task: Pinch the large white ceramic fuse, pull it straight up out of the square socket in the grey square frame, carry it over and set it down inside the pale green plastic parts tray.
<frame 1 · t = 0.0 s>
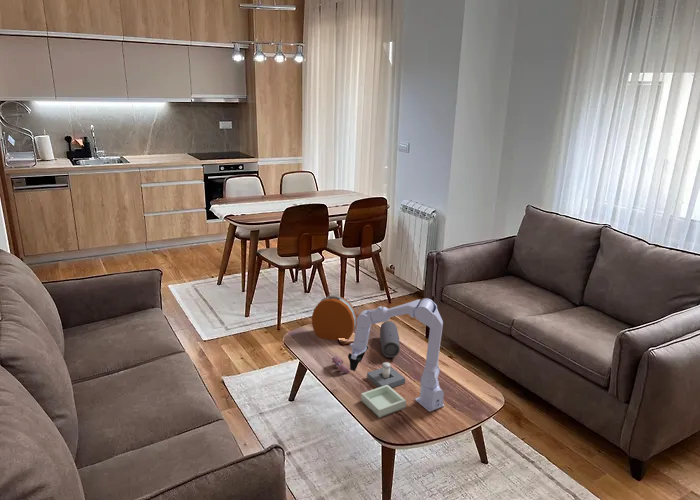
hand: (355, 365, 212), 11 cm above the table, tool pointing down, fingers open, 7 cm apart
fuse: (386, 372, 219), in the grey square frame
video game controller: (340, 369, 229), on the table
bluetooth speaker: (389, 348, 248), on the table
grey square frame: (385, 380, 220), on the table
alarm clock: (334, 335, 260), on the table
parts tray: (383, 404, 204), on the table
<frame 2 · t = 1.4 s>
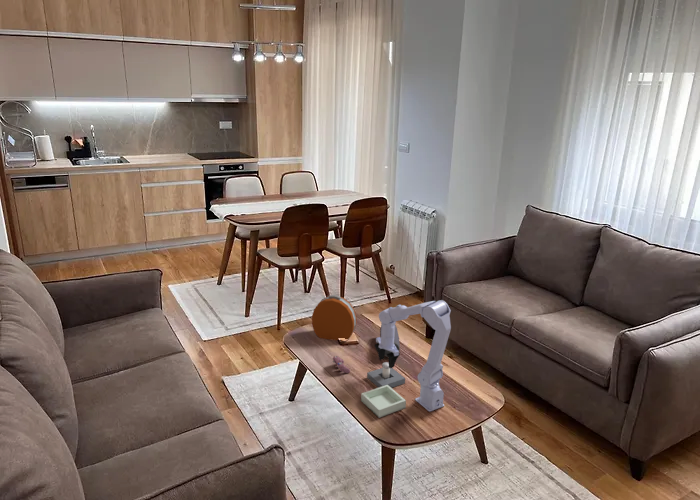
hand: (386, 363, 218), 9 cm above the table, tool pointing down, fingers open, 7 cm apart
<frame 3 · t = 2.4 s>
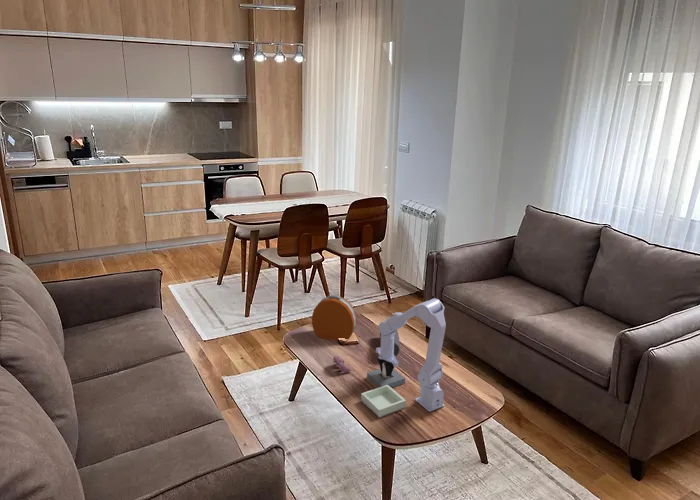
hand: (386, 373, 219), 3 cm above the table, tool pointing down, fingers closed on fuse, 3 cm apart
fuse: (386, 372, 219), in the grey square frame, touching gripper
everything else where it was.
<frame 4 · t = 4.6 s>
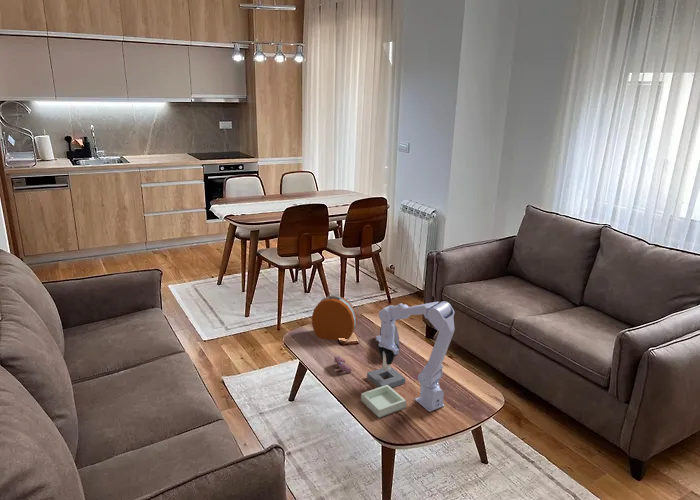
hand: (386, 361, 215), 10 cm above the table, tool pointing down, fingers closed on fuse, 3 cm apart
fuse: (386, 360, 215), point 11 cm above the table, touching gripper
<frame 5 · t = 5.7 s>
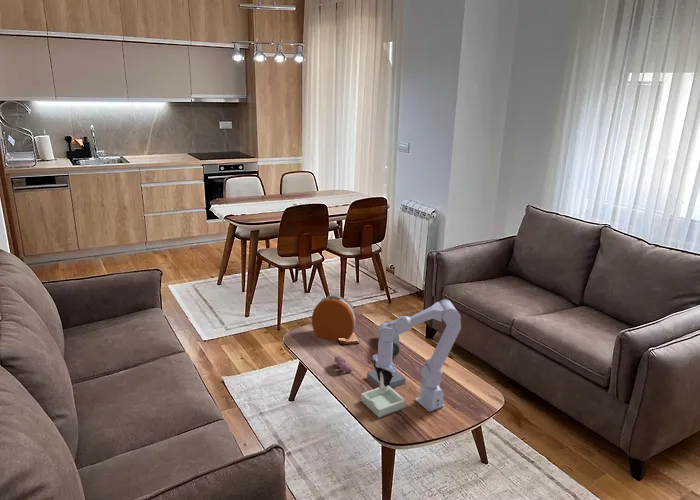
hand: (383, 382, 201), 10 cm above the table, tool pointing down, fingers closed on fuse, 3 cm apart
fuse: (384, 381, 200), point 10 cm above the table, touching gripper
when the fingers open (6 cm above the table, at t = 6.7 s): fuse drops 2 cm, resting on parts tray.
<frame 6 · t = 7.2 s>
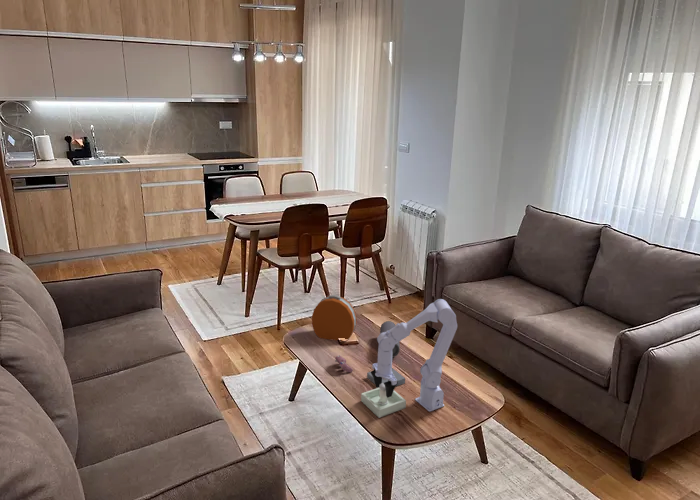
hand: (383, 391, 202), 6 cm above the table, tool pointing down, fingers open, 7 cm apart
fuse: (383, 394, 202), in the parts tray, point 5 cm above the table
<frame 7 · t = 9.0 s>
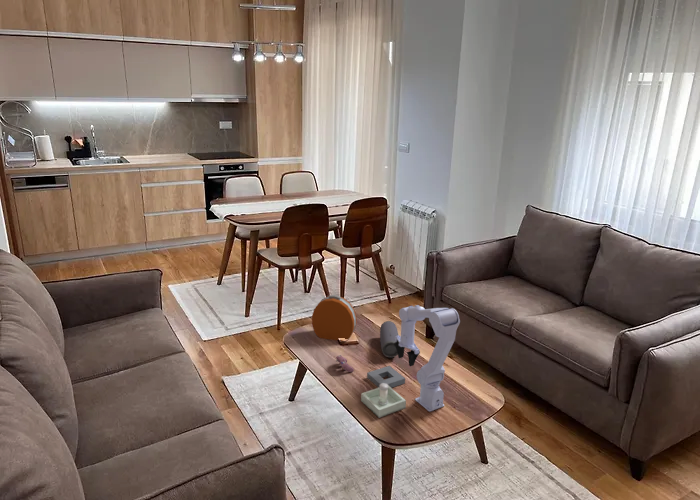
hand: (406, 361, 218), 9 cm above the table, tool pointing down, fingers open, 7 cm apart
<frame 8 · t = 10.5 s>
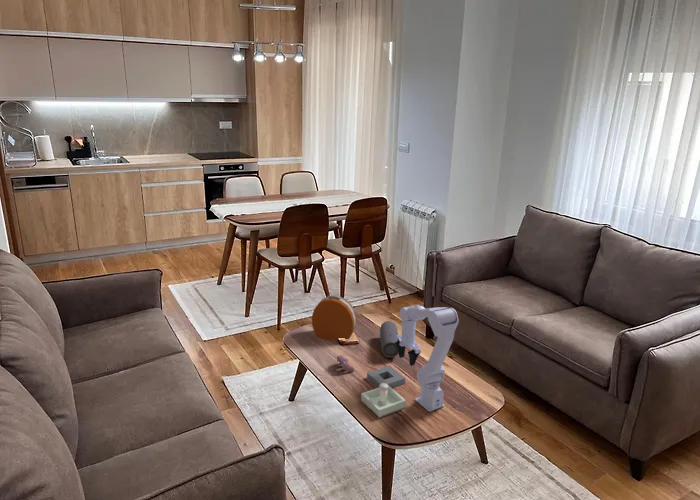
hand: (406, 360, 218), 9 cm above the table, tool pointing down, fingers open, 7 cm apart
at the end: fuse inside the target area on the parts tray (0.2 cm from its centre), point 4.6 cm above the parts tray's base; the gripper is holding nothing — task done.
